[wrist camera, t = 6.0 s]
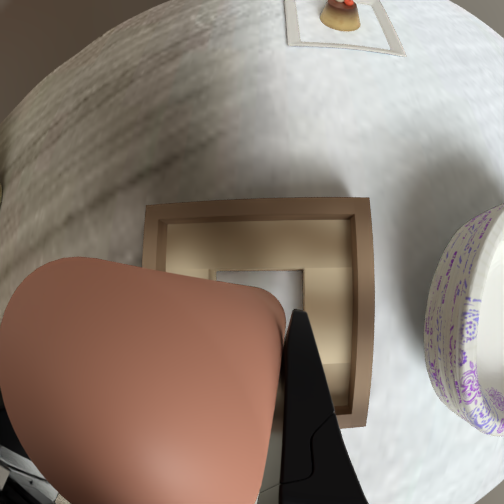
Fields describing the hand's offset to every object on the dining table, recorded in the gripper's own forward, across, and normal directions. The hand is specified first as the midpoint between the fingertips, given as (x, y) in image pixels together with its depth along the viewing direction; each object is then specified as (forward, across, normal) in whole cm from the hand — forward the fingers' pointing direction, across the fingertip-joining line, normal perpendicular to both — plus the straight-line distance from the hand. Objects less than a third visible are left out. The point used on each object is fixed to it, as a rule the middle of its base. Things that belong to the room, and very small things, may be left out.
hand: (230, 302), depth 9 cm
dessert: (+29, -2, -13) cm, 32 cm away
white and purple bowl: (+9, -18, +7) cm, 21 cm away
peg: (+4, 0, +6) cm, 7 cm away
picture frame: (+7, 0, +9) cm, 11 cm away
